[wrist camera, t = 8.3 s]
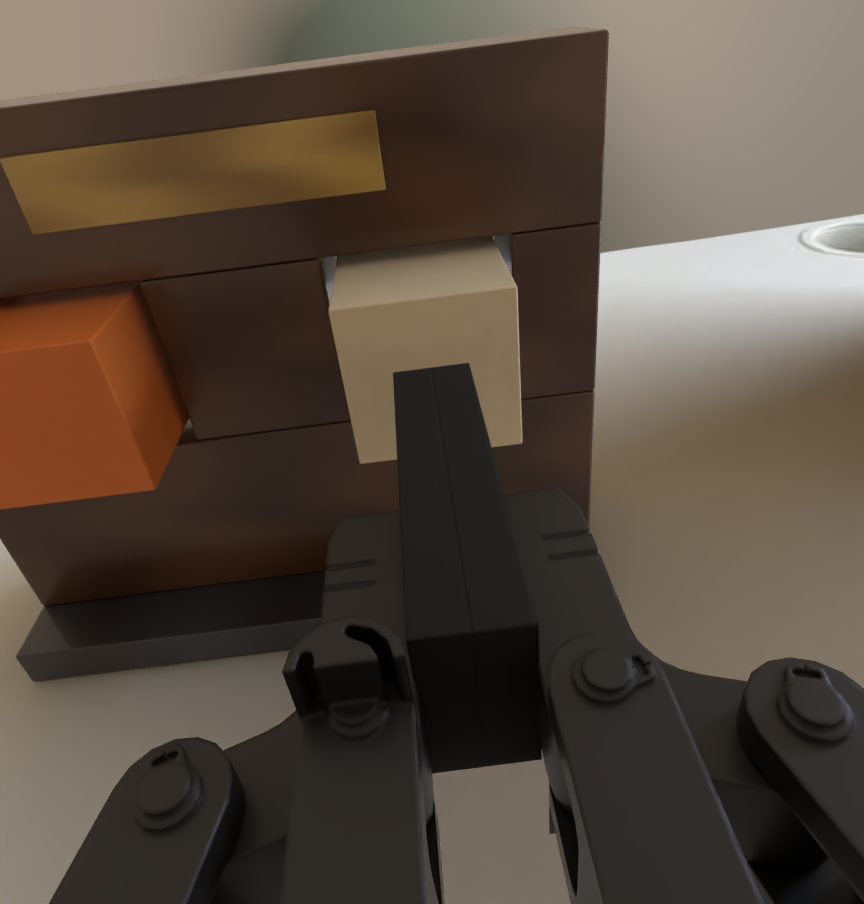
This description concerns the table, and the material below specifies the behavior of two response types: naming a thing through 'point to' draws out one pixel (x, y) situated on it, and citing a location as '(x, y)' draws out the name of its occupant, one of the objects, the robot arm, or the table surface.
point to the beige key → (426, 333)
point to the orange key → (83, 396)
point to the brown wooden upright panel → (290, 310)
